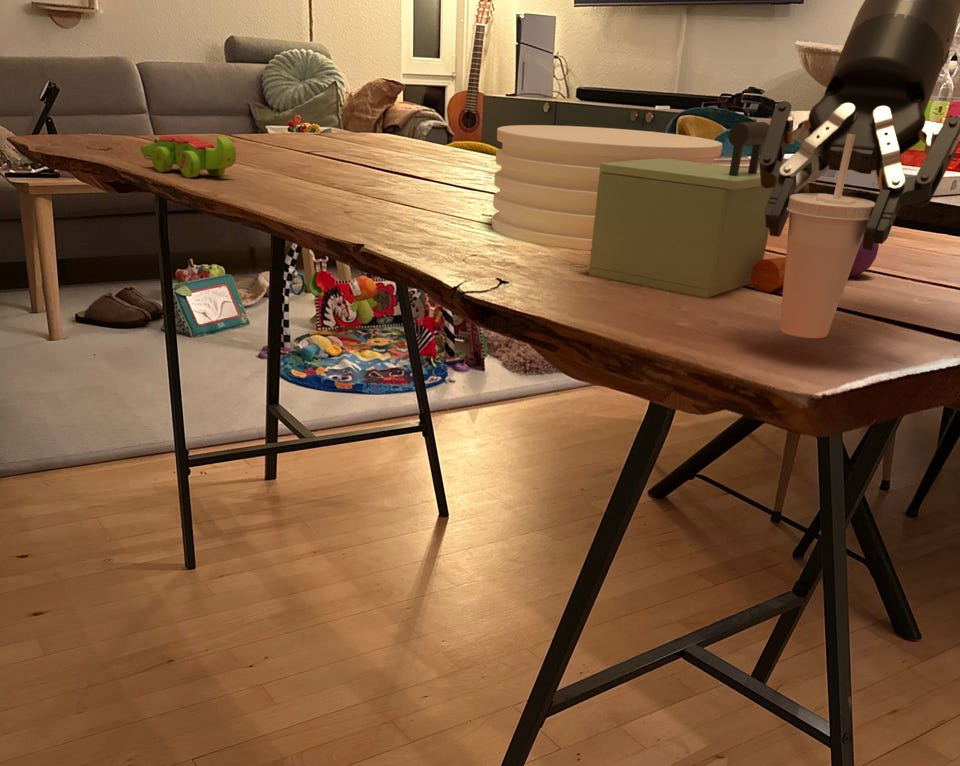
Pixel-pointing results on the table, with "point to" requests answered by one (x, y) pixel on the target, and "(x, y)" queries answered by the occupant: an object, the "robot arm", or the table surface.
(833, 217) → the smoothie
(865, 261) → the kendama
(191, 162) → the toy crocodile
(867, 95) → the robot arm
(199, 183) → the table surface
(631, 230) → the compartment
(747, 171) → the compartment lid
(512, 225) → the plate stack
